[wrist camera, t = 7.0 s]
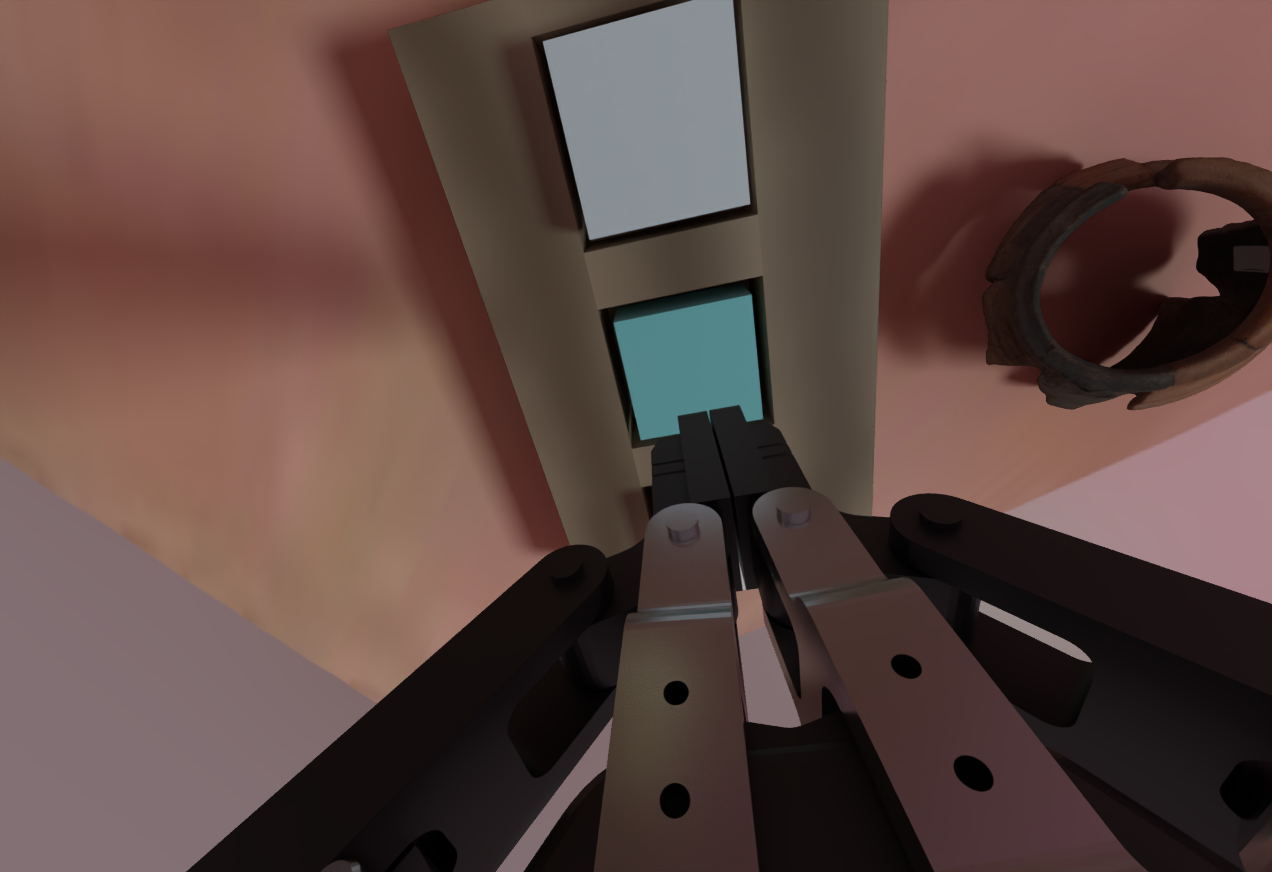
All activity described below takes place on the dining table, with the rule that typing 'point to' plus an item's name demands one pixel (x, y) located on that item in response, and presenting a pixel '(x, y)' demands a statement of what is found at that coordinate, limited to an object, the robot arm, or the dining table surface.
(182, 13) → the dining table surface
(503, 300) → the console
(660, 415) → the teal key
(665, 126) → the grey key
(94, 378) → the dining table surface
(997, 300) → the pottery mug
